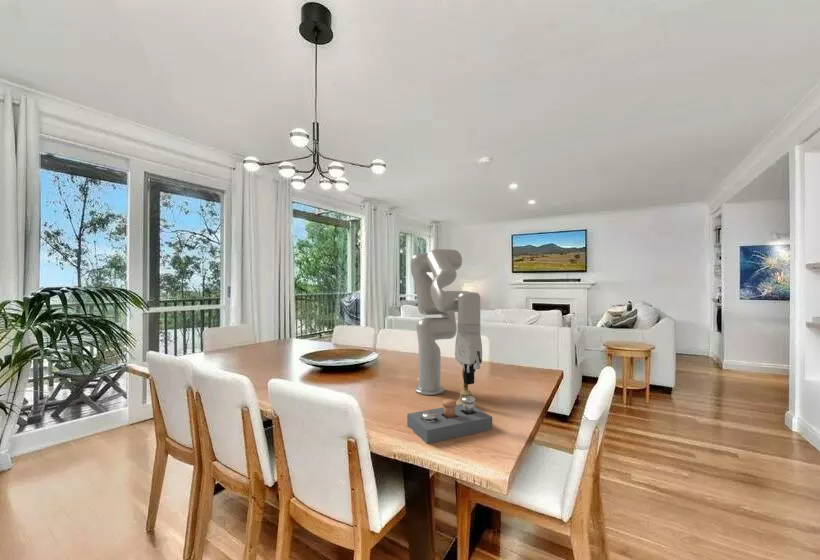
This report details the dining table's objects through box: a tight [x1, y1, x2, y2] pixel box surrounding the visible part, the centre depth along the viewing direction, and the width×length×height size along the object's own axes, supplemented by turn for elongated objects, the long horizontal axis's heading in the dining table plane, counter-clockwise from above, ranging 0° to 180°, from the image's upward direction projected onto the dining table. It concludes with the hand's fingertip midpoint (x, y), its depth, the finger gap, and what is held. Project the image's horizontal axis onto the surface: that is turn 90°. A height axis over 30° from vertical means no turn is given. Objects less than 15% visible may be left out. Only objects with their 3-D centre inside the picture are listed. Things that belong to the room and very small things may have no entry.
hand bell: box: [456, 370, 478, 409], centre depth 136 cm, size 8×8×16 cm
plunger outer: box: [422, 412, 436, 423], centre depth 114 cm, size 4×4×5 cm
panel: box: [406, 404, 493, 445], centre depth 117 cm, size 14×24×4 cm, turn 115°
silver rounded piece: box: [462, 395, 476, 415], centre depth 120 cm, size 4×4×5 cm
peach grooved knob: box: [442, 398, 457, 419], centre depth 117 cm, size 4×4×5 cm
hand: (469, 383), depth 120 cm, fingers closed
